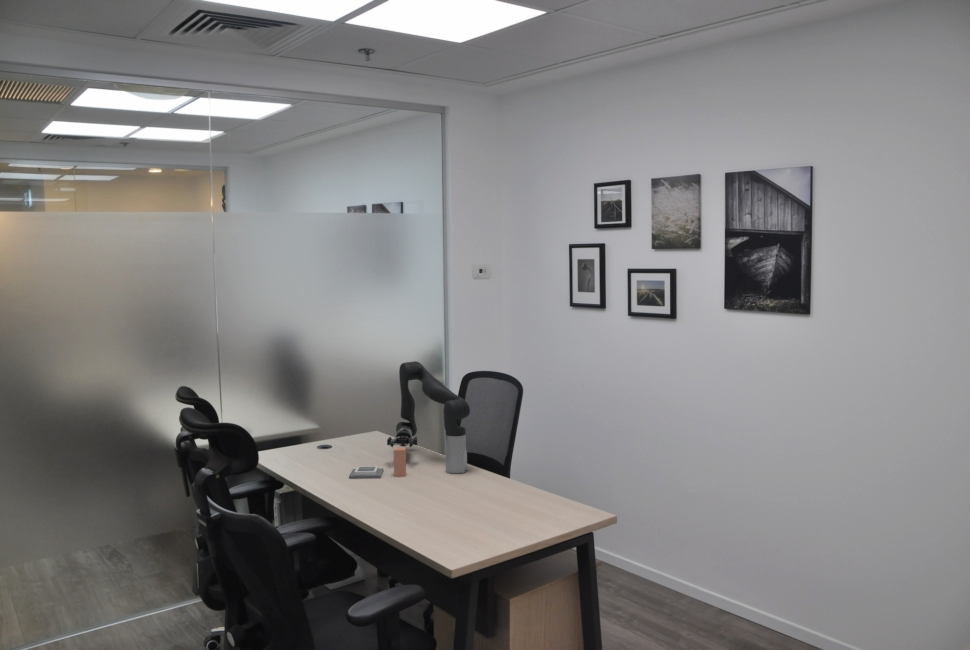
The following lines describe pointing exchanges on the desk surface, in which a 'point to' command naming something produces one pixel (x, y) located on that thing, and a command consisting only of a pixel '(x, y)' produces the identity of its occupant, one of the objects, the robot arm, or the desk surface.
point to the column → (399, 462)
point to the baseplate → (366, 472)
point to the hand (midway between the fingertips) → (401, 445)
